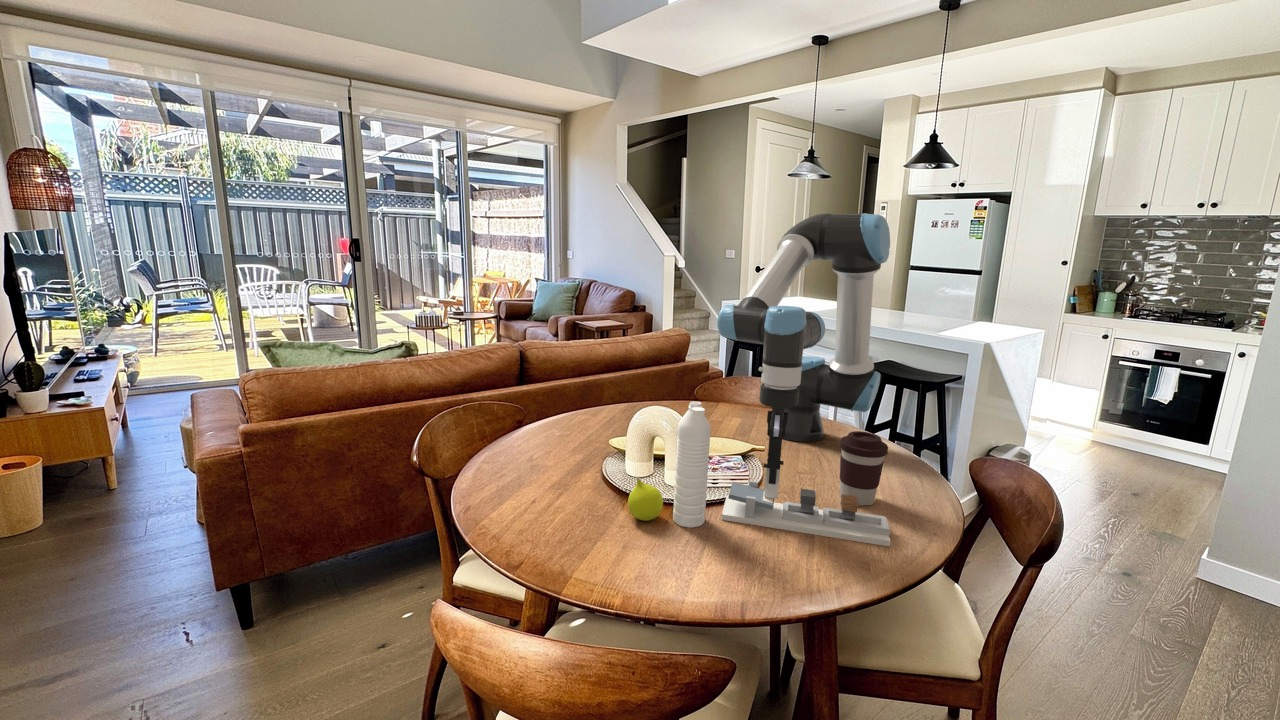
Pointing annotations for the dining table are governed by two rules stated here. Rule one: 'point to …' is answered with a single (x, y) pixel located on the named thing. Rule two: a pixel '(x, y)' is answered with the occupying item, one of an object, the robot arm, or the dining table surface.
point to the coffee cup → (861, 465)
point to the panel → (809, 520)
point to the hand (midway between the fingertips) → (770, 495)
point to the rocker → (741, 491)
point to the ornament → (645, 501)
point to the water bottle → (691, 467)
